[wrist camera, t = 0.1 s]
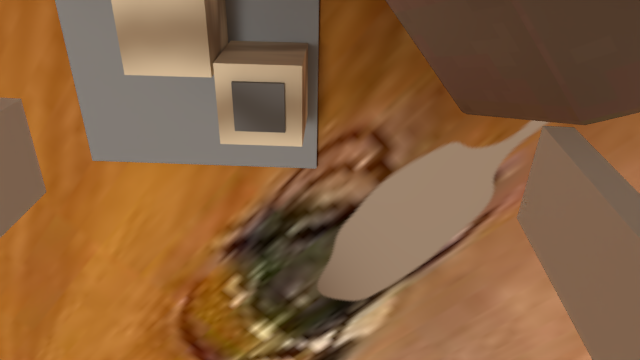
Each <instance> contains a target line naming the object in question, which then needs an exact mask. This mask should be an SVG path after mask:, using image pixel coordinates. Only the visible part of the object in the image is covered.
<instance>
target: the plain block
mask: <svg viewBox="0 0 640 360" xmlns="http://www.w3.org/2000/svg"><path fill="white" fill-rule="evenodd" d="M111 3H112V8H113V14H114V19H115V25H116V30H117V36H118V41H119V47H120V52H121V58H122V63H123V69H124V74H125V75H144V76H177V77H210V78H211V77H212V76H213V75H214V68H213V63H214V61H215V60H216V59H217V58H218V56H219V55H220V54H221V52H222V51H223V50H224V49H225V47H226V46H227V45H228V31H227V18H226V4H225V0H111Z"/></svg>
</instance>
